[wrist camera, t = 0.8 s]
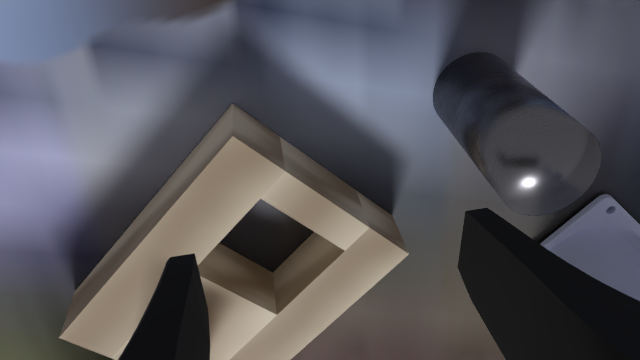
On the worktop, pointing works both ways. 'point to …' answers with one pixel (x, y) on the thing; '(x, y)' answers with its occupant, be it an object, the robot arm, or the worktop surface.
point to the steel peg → (516, 135)
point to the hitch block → (232, 268)
